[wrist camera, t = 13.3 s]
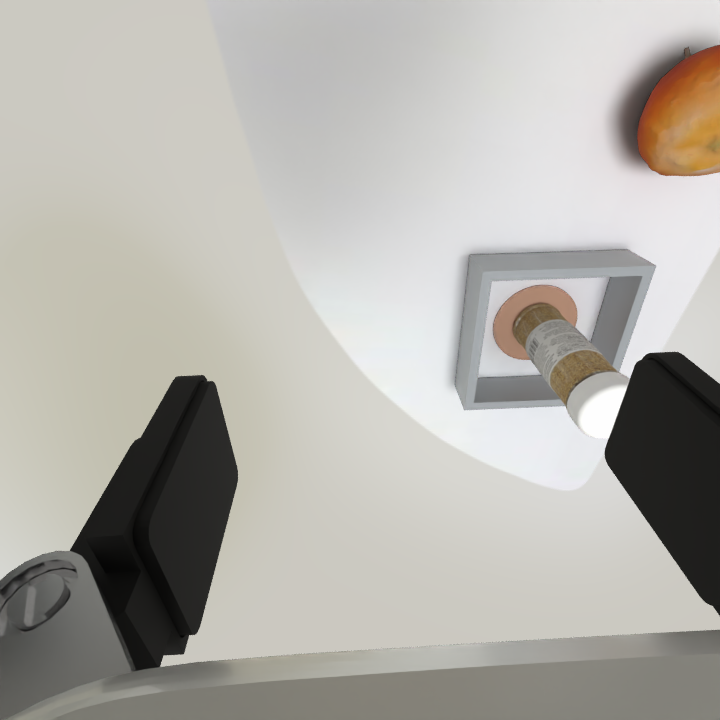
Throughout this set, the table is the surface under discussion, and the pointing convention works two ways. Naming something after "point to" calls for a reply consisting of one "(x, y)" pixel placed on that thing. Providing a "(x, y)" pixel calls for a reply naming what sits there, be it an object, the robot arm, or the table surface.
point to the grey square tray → (612, 325)
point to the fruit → (684, 118)
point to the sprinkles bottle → (572, 368)
